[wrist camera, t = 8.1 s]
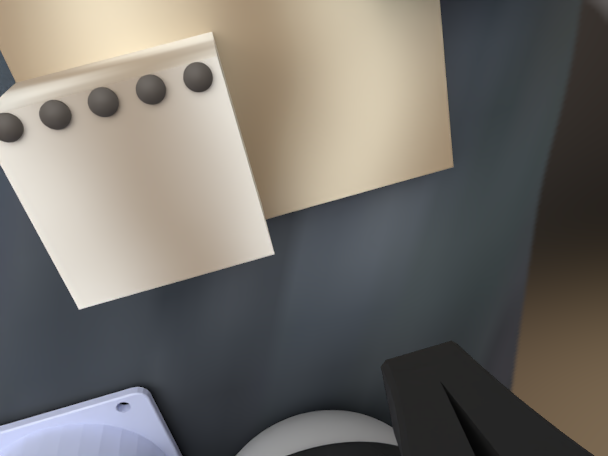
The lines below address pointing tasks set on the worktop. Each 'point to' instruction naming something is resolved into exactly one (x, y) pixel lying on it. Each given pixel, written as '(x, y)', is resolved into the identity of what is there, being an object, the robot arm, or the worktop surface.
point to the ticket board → (285, 80)
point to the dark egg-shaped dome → (325, 436)
